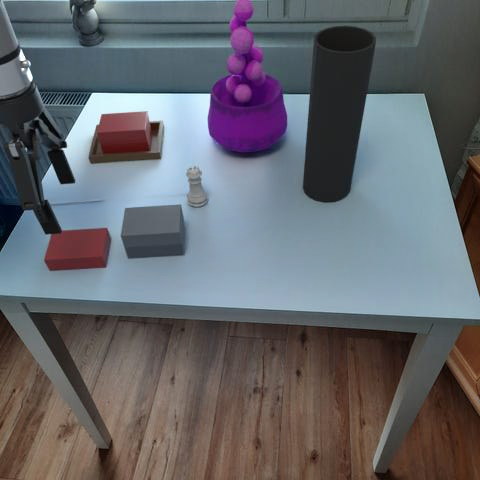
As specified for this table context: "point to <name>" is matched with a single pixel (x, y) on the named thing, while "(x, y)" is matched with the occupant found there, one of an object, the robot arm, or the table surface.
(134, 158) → the book tray
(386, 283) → the table surface
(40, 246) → the table surface
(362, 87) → the vase
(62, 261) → the burgundy book
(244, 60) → the decorative plant
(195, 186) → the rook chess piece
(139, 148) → the burgundy book
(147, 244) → the gray box
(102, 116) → the burgundy book
